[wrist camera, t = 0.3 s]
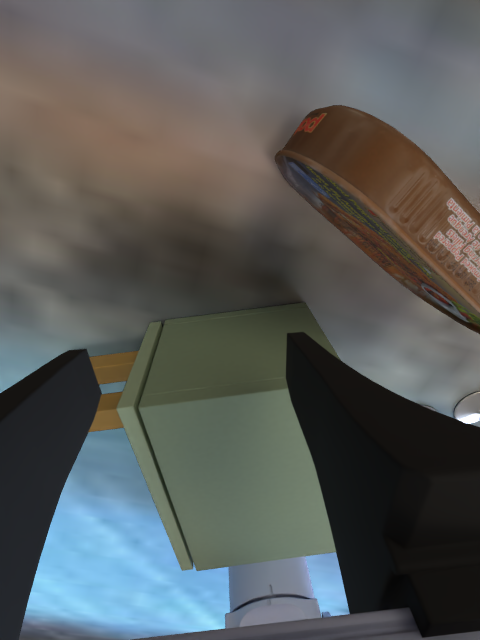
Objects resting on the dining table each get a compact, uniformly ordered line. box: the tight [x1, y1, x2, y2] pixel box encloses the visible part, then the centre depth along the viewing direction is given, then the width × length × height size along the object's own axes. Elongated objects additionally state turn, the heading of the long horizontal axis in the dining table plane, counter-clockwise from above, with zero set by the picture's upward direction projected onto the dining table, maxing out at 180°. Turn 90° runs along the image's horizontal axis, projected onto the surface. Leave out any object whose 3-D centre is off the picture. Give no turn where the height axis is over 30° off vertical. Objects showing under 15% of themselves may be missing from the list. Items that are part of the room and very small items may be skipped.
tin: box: [275, 105, 480, 334], centre depth 15 cm, size 15×3×8 cm, turn 53°
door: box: [89, 321, 193, 570], centre depth 21 cm, size 7×16×8 cm, turn 6°
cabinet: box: [138, 303, 340, 571], centre depth 22 cm, size 10×16×9 cm, turn 6°
